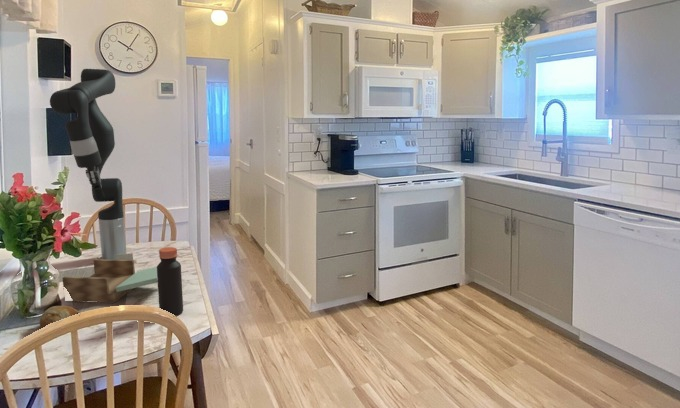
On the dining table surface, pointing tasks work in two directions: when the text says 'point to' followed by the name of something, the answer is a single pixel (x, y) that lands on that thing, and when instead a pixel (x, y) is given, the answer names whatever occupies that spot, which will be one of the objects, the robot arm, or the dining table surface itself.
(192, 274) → the dining table surface
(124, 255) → the architectural model
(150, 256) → the dining table surface
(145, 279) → the green box lid
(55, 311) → the bread roll
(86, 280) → the wood grain box
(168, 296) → the bottle
